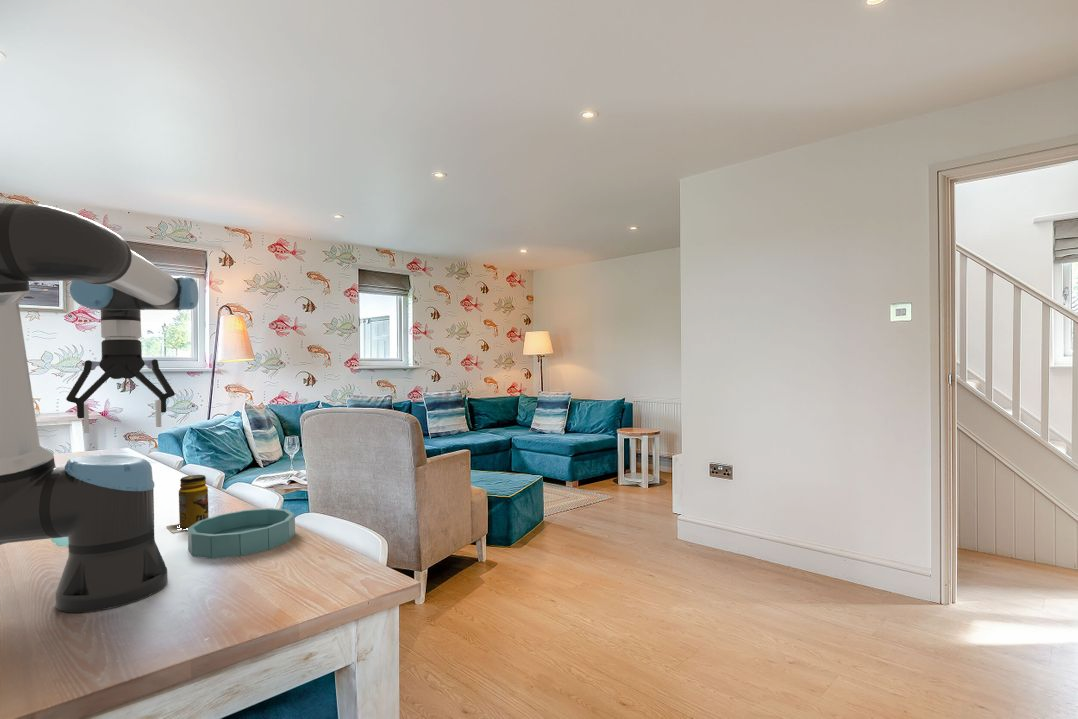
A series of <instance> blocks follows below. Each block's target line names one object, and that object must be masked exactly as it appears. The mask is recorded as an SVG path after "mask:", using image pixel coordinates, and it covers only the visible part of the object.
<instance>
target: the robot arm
mask: <svg viewBox="0 0 1078 719" xmlns="http://www.w3.org/2000/svg"><path fill="white" fill-rule="evenodd" d="M56 281H57V282H58V281H59V282H60V281H61V282H62V281H67V282H68V281H69V282H70V281H71V283H70V284H69V295H70V297H71V298H72V299H73V301H74V302H75V303H77V304H79V305H80V306H82V307H84V308H86V309H89V310H97V311H100V335H101V338H103V340H102V341H101V342H100V343H101V359H100V361H96V360H90V359H88V360H85V361H84V363H83V364H84V365H83V370H82V372H81V374H80V375H79V377H78V378H77V380H76V382H75V383H74V385H73V386H72V388H71V390H70V391H69V393H68V394H67V397H65V400H66V401H67V402H70V403H74V404H76V417H77V418H78V419H83V434H89V433H90V418H89V417H90V415H89V414H90V413H89V410H90V409H89V403H85V402H86V401H87V400H88V399H89V398H90V397H91V396H92V395H93V394H94V393H95V392H97V390H98V389H99V388H101V386H102V385H103V384H105V382H106V381H108V380H109V379H112V380H120V379H129V380H130V379H133V378H136V379H137V380H138V381H140V383H142V384H143V385H144V386H145V387H147V389H148V390H149V391H150V392H152V394H154V395H155V397H157V398H158V399H155V400H154V401H155V402H154V403H155V406H154V407H155V427H157V428H161V427H162V414H163V413H166V412H167V399H169V398H171V397H174V396H175V395H176V393H175V391H174V390H173V388H172V386H171V385H170V384H169V382H168V380H167V378H166V377H165V375H164V374H163V372H162V371H161V369H160V367H159V365H160V364H159V361H158V359H155V358H154V359H151V360H143V357H142V355H143V352H142V349H143V348H142V341H141V340H139V339H141V338H142V322H141V321H142V320H141V311H144V310H146V311H147V310H149V311H151V310H153V311H159V310H160V311H164V310H165V311H170V310H171V311H178V312H179V311H185V310H186V311H188V310H193V309H195V308H196V307H197V305H198V303H199V288H198V284H197V282H196V280H195V278H193V277H191V276H183V275H178V276H173V275H171V274H169V273H168V272H166V271H165V270H163V269H162V268H160V267H159V266H157V265H155V264H153V263H152V262H150V261H149V260H147V259H146V258H144V257H143V256H141V255H139V254H138V253H136V252H135V251H134V250H132V249H131V247H130V245H129V244H128V242H127V241H126V240H125V239H124V238H123V237H122V236H120V234H117V233H116V232H114V231H112V230H111V229H109V228H107V227H106V226H104V225H101V224H100V223H98V222H96V221H94V220H91V219H88V218H86V217H83V216H82V215H79V214H77V213H74V212H70V211H67V210H64V209H62V208H61V209H60V208H57V207H53V206H49V205H44V204H35V203H34V204H33V203H8V202H6V203H5V202H0V545H4V544H9V543H13V544H14V543H21V542H23V543H24V542H31V541H38V540H40V541H42V540H51V539H52V538H60V537H68V543H69V547H68V557H67V560H66V563H65V566H64V569H63V571H62V573H61V574H62V575H61V577H60V580H59V583H58V585H57V587H56V588H57V589H56V591H55V608H56V609H57V610H58V611H60V612H65V613H87V612H97V611H100V610H101V611H102V610H105V609H106V610H107V609H111V608H116V607H119V606H123V605H126V604H127V605H128V604H130V603H133V602H136V601H139V600H141V599H145V598H147V597H149V596H152V595H153V594H156V593H157V592H159V591H160V590H162V589H163V588H164V587H166V586H167V584H168V581H169V580H168V577H169V576H168V567H167V566H166V563H165V561H164V559H163V556H162V554H161V552H160V549H159V547H158V545H157V542H156V539H155V502H154V500H155V498H154V493H155V492H154V491H155V490H154V488H155V481H154V478H153V468H152V464H151V463H150V462H149V461H148V460H146V459H145V458H141V457H139V456H138V457H137V456H132V455H122V454H120V455H119V454H100V455H84V456H83V455H82V456H77V457H72V458H70V459H68V460H67V461H66V464H65V465H64V466H56V461H55V458H54V457H55V455H54V453H53V451H51V450H50V449H47V448H45V447H42V446H41V445H40V437H39V432H38V431H39V430H38V425H37V419H36V418H37V417H36V412H35V410H36V409H35V404H34V398H33V391H32V384H31V378H30V371H29V365H28V363H29V362H28V358H27V352H26V344H25V343H26V342H25V337H24V332H23V331H24V330H23V325H22V318H21V311H20V304H19V303H21V301H22V300H23V298H25V297H26V296H27V295H28V294H30V292H31V290H30V284H29V282H56ZM145 366H146V367H147V368H148V369H150V370H151V371H152V373H153V374H154V376H155V377H156V379H157V380H158V383H159V384H160V385H161V387H162V388H163V390H164V392H165V393H164V392H162V390H160V389H159V388H158V387H157V386H156V385H155V384H154V383H153V382H151V381H150V379H148V378H147V377H146V376H145V375H144V374H143V373H142V372H141V370H142V369H143V368H144V367H145ZM97 367H99V368H100V369H101V370H102V371H104V373H103V374H102V375H100V377H99V378H98V379H97V380H96V381H94V383H93V384H91V385H90V386H89V388H88V389H87V390H86V391H85V392H84V393H83V394H81V395H80V396H79V397H77V394H78V393H79V391H80V390H81V389H82V386H83V385H84V384H85V382H86V380H87V379H88V377H89V375H90V374H91V371H95V369H96V368H97Z"/></svg>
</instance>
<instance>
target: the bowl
mask: <svg viewBox="0 0 1078 719" xmlns="http://www.w3.org/2000/svg"><path fill="white" fill-rule="evenodd" d="M295 535H296V514H295V513H294V512H292V511H291V510H289V509H285V508H284V509H283V508H282V509H281V508H275V507H274V508H272V507H268V508H266V507H265V508H255V509H254V508H253V509H244V510H238V511H232V512H227V513H220V514H218V515H214V516H211V517H209V518H207V519H204V520H201V521H198V522H197V523H195V524H193V525H192V526H190V527H189V528H188V530H187V546H188V547H187V548H188V552H189V553H190V555H191V556H192V557H196V558H205V559H221V558H222V559H223V558H233V557H234V558H235V557H241V556H242V557H243V556H247V555H251V554H257V553H260V552H264V551H269V550H271V549H274V548H276V547H279V546H282V545H284V544H286V543H289V542H290V541H291V539H292V538H293V537H295Z"/></svg>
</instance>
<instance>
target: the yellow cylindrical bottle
mask: <svg viewBox="0 0 1078 719" xmlns="http://www.w3.org/2000/svg"><path fill="white" fill-rule="evenodd" d="M206 480H207V477H206V476H205V474H195V475H194V474H193V475H187V476H183V477H181V478H180V481H179V482H180V484H179V487H180V488H179V490H178V511H179V514H178V515H179V516H178V519H179V523H178V524H170V525H166V528H167V529H168V530H169V531H170V532H171V533H172V534H175V533H178V532H185V531H186V530H183V529H186V528H189V527H190V526H192V525H193V524H195V523H197V522H198V521H201V520H204V519H207V518H210V517H209V489H208V488H209V487H208V486H207V485H206V484H207V482H206ZM179 525H180V528H182V530H179V531H178V530H177V529H180V528H177V526H178V527H179Z"/></svg>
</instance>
